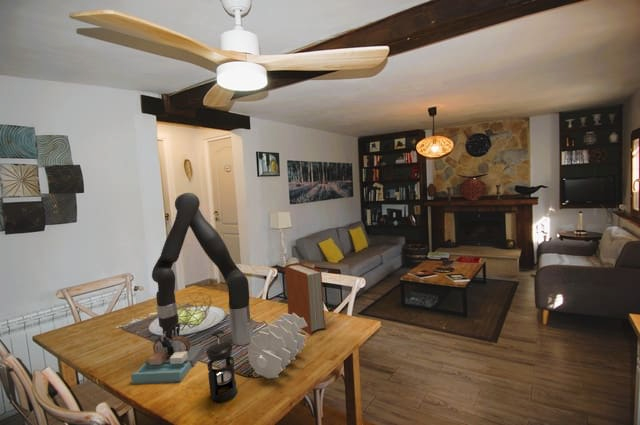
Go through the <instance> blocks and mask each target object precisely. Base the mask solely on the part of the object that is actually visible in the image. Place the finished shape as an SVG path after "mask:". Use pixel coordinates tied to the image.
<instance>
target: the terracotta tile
mask: <svg viewBox="0 0 640 425" xmlns="http://www.w3.org/2000/svg"><path fill="white" fill-rule="evenodd" d="M148 359H149V365H158V364H162V363H163V362H164V361H165V360H166V359H167V352H154V353H153V354H152V355H151V356H150V357H149V358H148Z"/></svg>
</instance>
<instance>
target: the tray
mask: <svg viewBox="0 0 640 425" xmlns="http://www.w3.org/2000/svg"><path fill="white" fill-rule="evenodd" d="M192 368H193V367H191V363H190V362H187V364H164V365H147V364H145V363H144V364H143V365H141V367H140V368H139V369H138V370H136V371H135V372H132V373H131V375H130V376H131V384H132V385H141V384H142V385H143V384H146V385H147V384H165V383H166V384H167V383H169V384H170V383H181V382H182V381H183V379H184V378H186V376H187V374H188V373H189V371H191V369H192Z"/></svg>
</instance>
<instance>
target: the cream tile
mask: <svg viewBox="0 0 640 425" xmlns="http://www.w3.org/2000/svg"><path fill="white" fill-rule="evenodd" d="M187 357H188V355H187V351H182V352H175V353H174V354H173V355H172V356H171V357H170V364H182V363H183V362H184V361H185V360H186V359H187Z"/></svg>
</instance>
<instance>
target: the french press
mask: <svg viewBox="0 0 640 425" xmlns="http://www.w3.org/2000/svg"><path fill="white" fill-rule="evenodd" d="M224 333H225V331H224V330H216V331H215V330H214V331H213V332H212V333H211V336H212V337H216V338H217V343H215V344H213V345H211V346H209V347H208V348H207V349H206V351H205V354H206V355H207V359H208V360H209V361H208V363H207V370H208V373H207V374H208V375H207V376H208V383H209V384H208V385H209V393H210V396H209V398H210V400H211V402H213V403H216V404H223V403H227V402H228V401H229V402H230V401H231V400H233V399H234V398H235V397H236V396H237V394H238V388H237V381H236V377H235V369H234V368H235V367H234V366H235V359H234V357H233V356H232V352H233V347H234V345H233V344H232V343H229V342H220V336H222V335H224ZM223 360H224V361H225V367H222V366H223V365H222V361H223ZM218 361H219V363H220V364H219V365H220V368H214V367H213V364H214V363H216V362H218ZM231 362H232V363H231ZM225 388H228V389H229V388H230V389H229V390H227V391H224V392H219V390H221V389H225Z"/></svg>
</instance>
